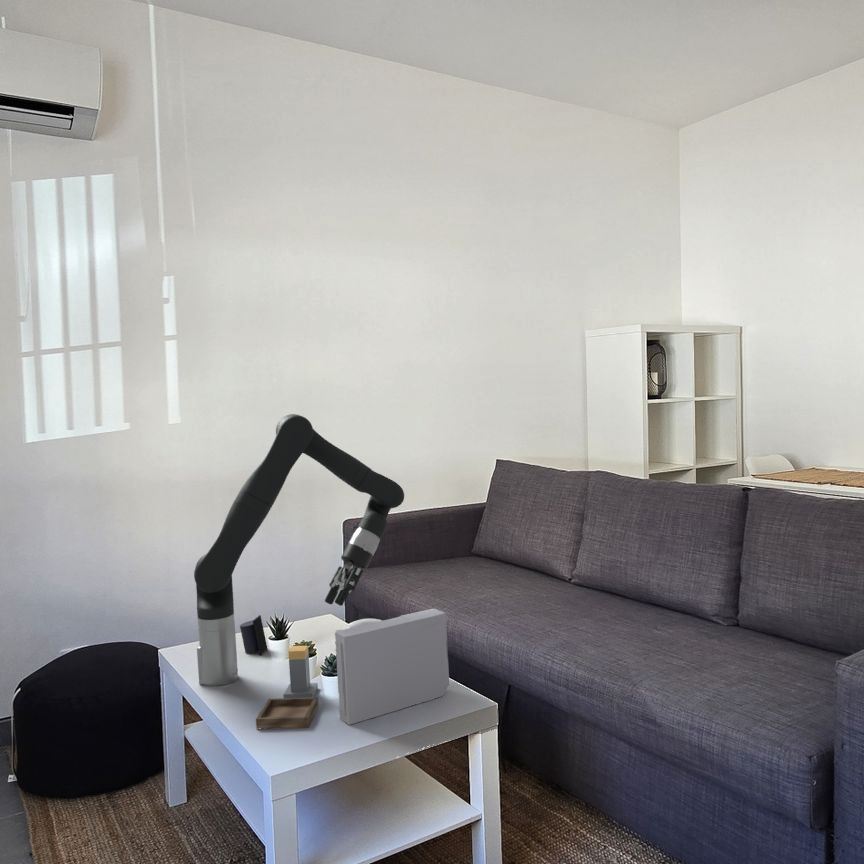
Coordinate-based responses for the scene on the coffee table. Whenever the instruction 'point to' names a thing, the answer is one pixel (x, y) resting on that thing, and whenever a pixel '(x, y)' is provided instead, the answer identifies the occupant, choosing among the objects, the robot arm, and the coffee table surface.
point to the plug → (300, 674)
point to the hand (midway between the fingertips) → (332, 603)
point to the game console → (391, 664)
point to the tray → (287, 713)
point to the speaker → (254, 636)
